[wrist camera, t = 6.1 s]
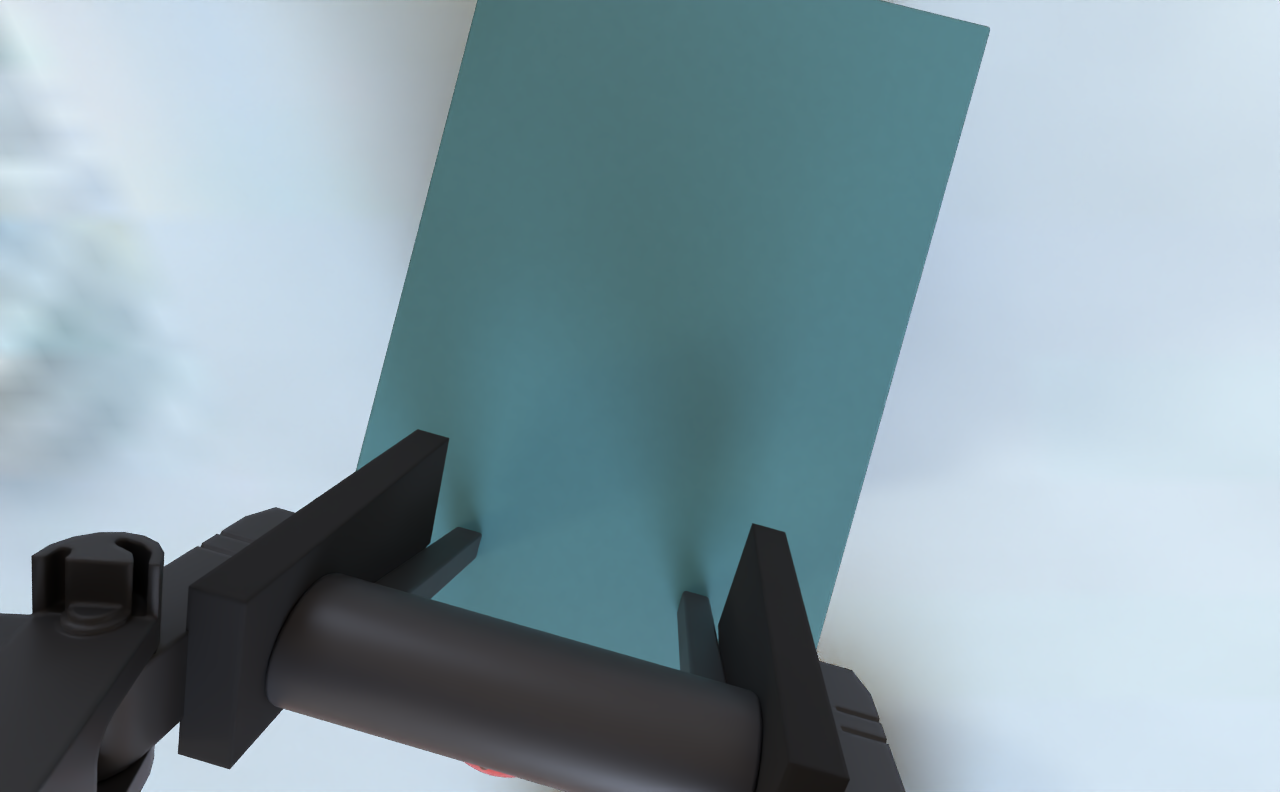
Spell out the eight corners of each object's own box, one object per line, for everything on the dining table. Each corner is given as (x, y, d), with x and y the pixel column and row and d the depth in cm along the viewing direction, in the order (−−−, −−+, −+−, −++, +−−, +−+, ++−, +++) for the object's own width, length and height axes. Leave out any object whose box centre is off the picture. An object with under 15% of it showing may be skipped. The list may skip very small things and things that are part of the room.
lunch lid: (786, 723, 17) (903, 1047, 9) (335, 593, 17) (33, 784, 9) (976, 43, 16) (1294, -306, 8) (508, -72, 17) (356, -516, 8)
